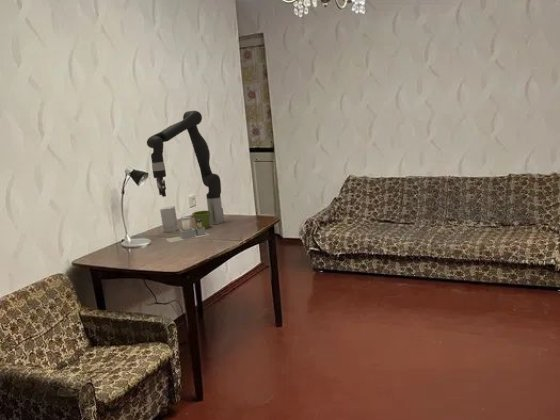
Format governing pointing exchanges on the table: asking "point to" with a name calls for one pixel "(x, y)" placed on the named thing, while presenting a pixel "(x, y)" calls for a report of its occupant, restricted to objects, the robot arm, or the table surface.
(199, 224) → the plunger
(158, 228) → the table surface
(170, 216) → the skincare box
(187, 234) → the housing
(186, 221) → the cartridge
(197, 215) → the plant pot
